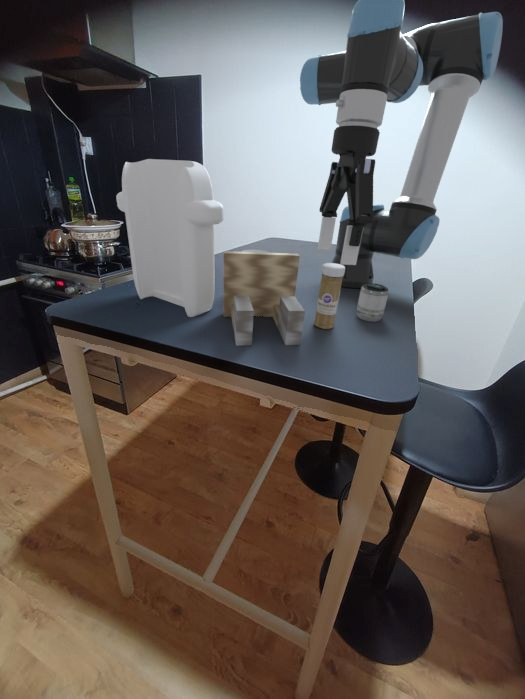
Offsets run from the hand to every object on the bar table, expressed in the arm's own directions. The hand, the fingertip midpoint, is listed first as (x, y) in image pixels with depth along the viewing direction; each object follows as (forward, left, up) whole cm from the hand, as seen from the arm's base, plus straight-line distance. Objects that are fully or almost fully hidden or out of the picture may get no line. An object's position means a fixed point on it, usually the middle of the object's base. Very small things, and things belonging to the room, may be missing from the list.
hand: (334, 256), depth 63 cm
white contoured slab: (+32, -14, -15) cm, 39 cm away
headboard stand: (+14, +1, -15) cm, 20 cm away
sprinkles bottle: (0, 0, -15) cm, 15 cm away
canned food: (+13, -22, -15) cm, 30 cm away
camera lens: (-13, -5, -15) cm, 21 cm away
